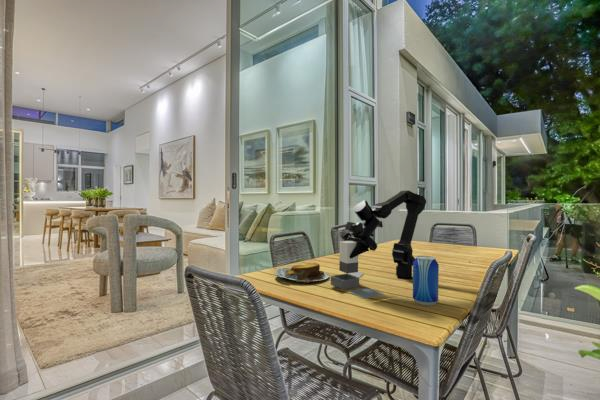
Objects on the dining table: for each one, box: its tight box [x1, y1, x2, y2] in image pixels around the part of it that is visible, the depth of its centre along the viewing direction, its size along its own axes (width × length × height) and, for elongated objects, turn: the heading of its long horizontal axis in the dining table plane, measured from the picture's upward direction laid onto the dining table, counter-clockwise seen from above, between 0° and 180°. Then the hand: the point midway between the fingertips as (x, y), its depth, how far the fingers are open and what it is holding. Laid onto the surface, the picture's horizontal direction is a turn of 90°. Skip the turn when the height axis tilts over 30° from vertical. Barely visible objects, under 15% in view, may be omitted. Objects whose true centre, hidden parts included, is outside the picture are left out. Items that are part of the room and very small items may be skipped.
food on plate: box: [273, 262, 330, 284], centre depth 144 cm, size 25×25×7 cm
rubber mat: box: [347, 287, 385, 299], centre depth 121 cm, size 10×10×1 cm
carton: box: [325, 271, 365, 290], centre depth 131 cm, size 14×8×5 cm, turn 117°
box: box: [338, 240, 359, 274], centre depth 129 cm, size 5×5×12 cm
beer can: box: [412, 255, 440, 306], centre depth 112 cm, size 8×8×16 cm
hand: (345, 256), depth 128 cm, fingers closed on box, 5 cm apart
